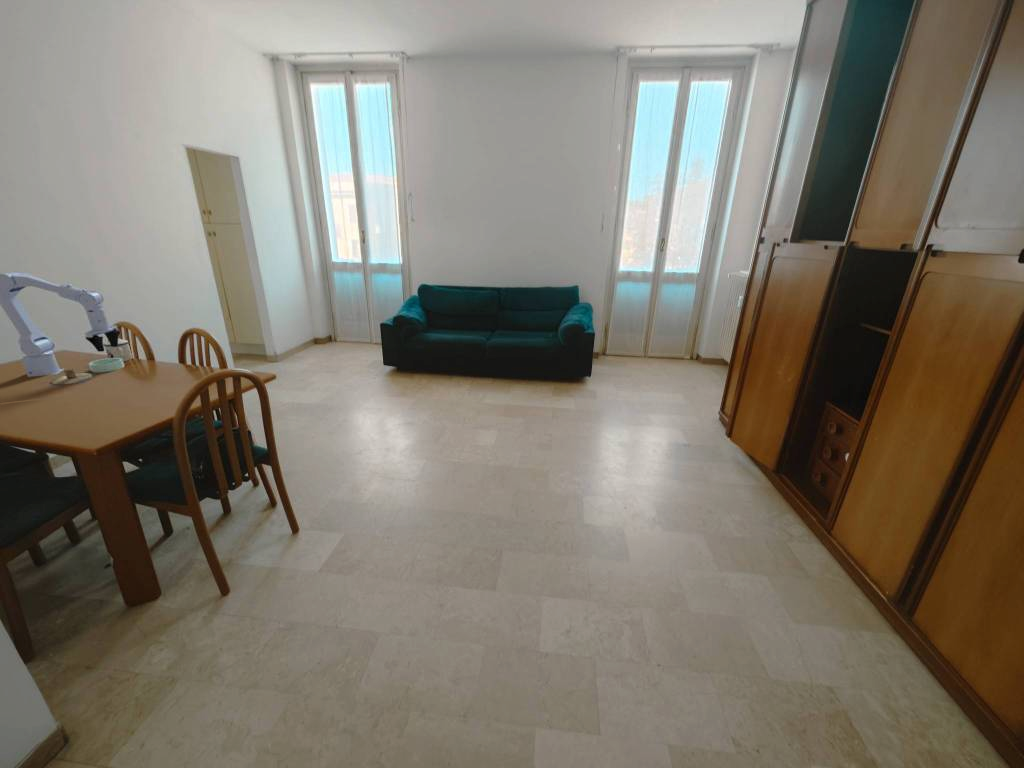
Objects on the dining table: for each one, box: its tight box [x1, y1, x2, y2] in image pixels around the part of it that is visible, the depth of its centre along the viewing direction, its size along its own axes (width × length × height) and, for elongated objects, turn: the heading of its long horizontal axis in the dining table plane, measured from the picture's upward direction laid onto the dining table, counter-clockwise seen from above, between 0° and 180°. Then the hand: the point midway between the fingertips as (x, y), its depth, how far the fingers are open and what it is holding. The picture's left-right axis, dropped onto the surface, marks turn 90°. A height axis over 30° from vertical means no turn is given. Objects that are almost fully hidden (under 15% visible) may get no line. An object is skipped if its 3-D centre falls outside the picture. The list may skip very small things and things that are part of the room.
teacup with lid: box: [103, 338, 134, 362], centre depth 197 cm, size 12×9×12 cm
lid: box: [51, 368, 93, 386], centre depth 172 cm, size 12×12×4 cm
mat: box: [46, 373, 97, 387], centre depth 172 cm, size 12×12×1 cm
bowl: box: [88, 358, 125, 373], centre depth 186 cm, size 11×11×4 cm
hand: (108, 348), depth 183 cm, fingers open, 7 cm apart
